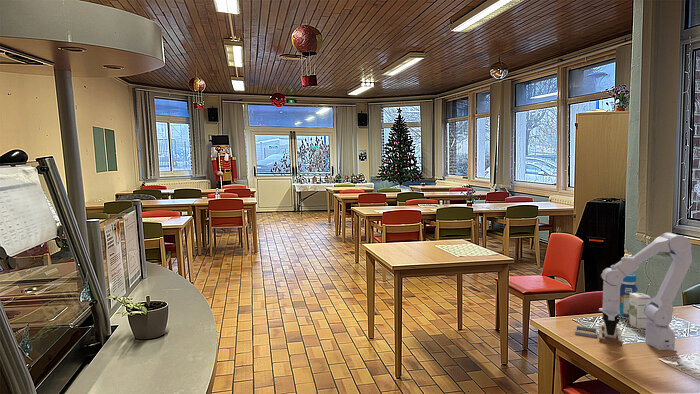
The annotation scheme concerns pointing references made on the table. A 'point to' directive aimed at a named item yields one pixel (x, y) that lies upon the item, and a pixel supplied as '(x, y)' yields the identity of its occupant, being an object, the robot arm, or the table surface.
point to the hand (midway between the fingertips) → (610, 332)
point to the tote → (587, 330)
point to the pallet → (607, 340)
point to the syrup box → (638, 309)
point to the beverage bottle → (626, 294)
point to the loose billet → (610, 335)
